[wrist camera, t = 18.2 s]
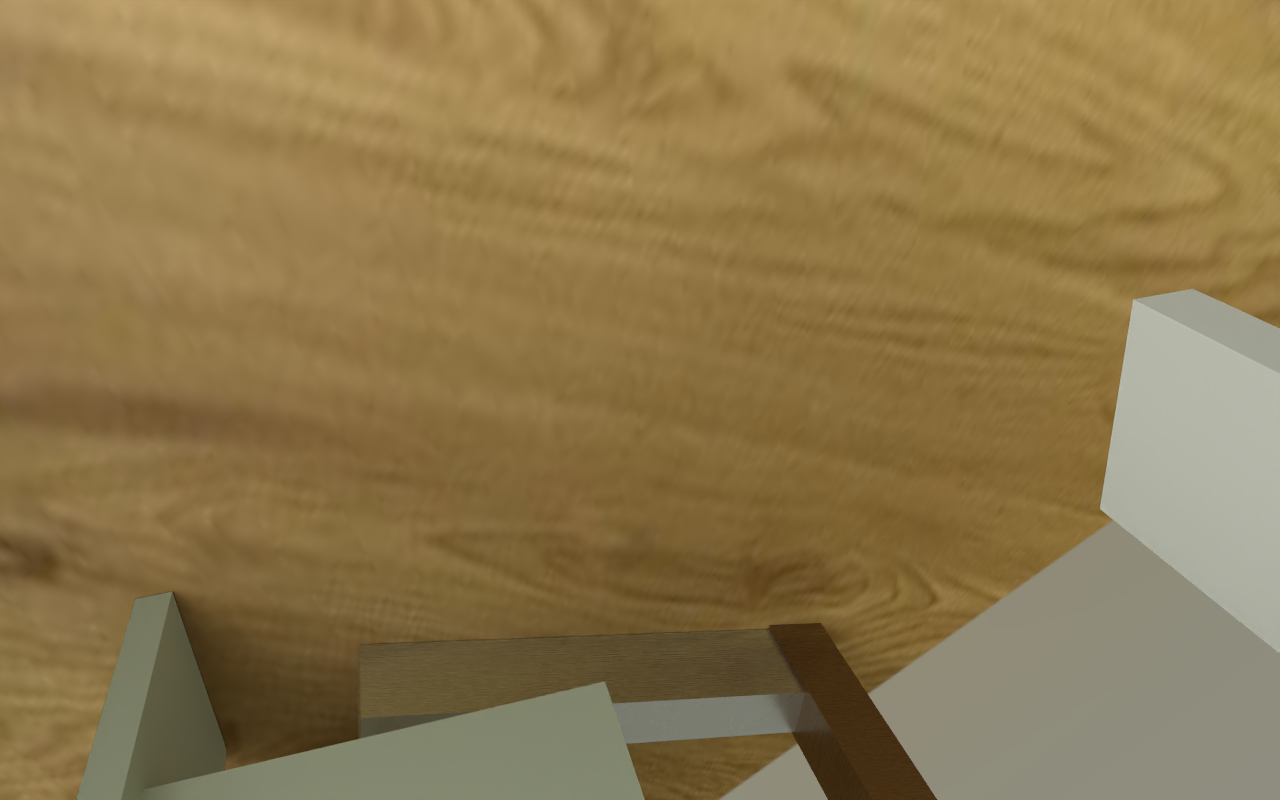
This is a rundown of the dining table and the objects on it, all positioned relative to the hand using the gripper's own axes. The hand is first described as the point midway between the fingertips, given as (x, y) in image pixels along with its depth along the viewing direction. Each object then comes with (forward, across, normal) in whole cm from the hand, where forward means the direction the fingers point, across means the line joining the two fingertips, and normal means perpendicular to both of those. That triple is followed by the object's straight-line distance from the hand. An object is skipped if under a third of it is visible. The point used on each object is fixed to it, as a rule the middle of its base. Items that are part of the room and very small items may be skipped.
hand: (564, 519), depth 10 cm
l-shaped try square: (+32, +5, -30) cm, 44 cm away
